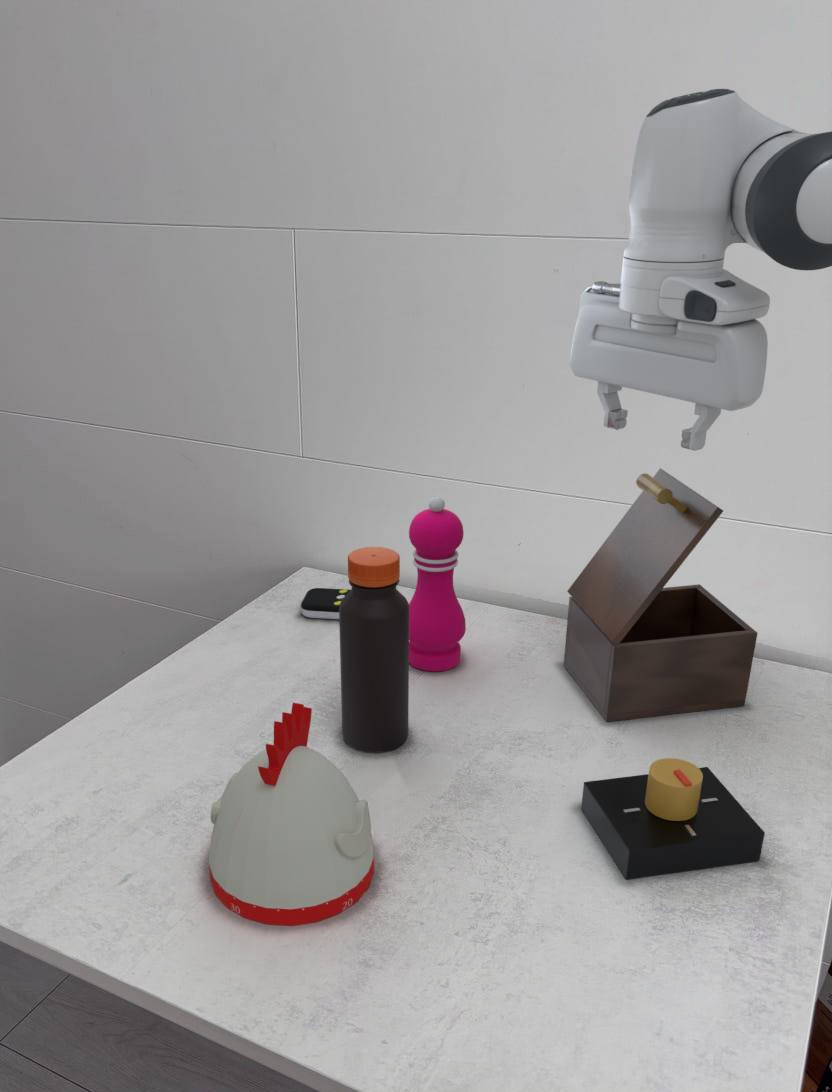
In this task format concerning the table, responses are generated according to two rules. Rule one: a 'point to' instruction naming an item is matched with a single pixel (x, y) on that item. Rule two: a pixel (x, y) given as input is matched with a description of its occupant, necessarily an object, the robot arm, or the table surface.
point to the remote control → (323, 603)
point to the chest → (663, 657)
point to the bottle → (374, 652)
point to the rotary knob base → (670, 828)
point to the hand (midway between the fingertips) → (652, 437)
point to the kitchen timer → (290, 833)
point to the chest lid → (642, 553)
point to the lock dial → (673, 789)
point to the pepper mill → (435, 590)
